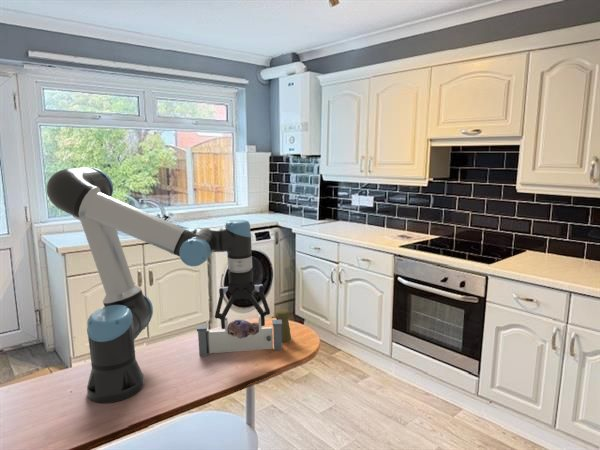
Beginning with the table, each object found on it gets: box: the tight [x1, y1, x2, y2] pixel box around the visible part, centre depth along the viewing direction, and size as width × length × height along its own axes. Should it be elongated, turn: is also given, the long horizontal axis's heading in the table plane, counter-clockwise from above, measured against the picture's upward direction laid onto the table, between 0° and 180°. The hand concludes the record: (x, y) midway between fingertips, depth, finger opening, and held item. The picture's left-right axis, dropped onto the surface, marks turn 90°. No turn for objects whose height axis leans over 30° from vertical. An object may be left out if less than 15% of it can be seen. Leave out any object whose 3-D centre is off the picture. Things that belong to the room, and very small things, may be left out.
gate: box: [206, 326, 274, 355], centre depth 144 cm, size 22×2×8 cm, turn 97°
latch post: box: [271, 319, 283, 352], centre depth 146 cm, size 3×4×10 cm
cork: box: [274, 309, 292, 344], centre depth 153 cm, size 6×6×11 cm
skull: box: [228, 319, 259, 339], centre depth 135 cm, size 12×8×6 cm, turn 125°
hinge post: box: [196, 323, 209, 357], centre depth 142 cm, size 3×4×10 cm
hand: (243, 336), depth 135 cm, fingers closed on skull, 10 cm apart
